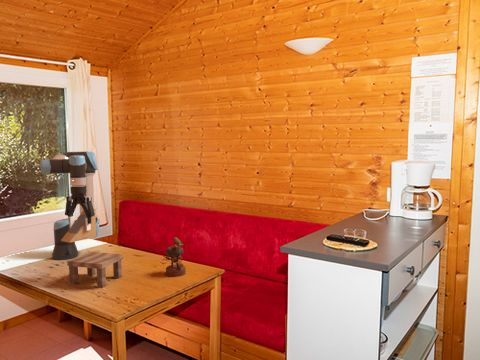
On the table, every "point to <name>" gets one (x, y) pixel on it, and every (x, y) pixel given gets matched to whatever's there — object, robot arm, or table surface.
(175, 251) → the small figurine
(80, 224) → the sandwich container
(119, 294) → the table surface
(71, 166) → the robot arm
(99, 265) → the stool
